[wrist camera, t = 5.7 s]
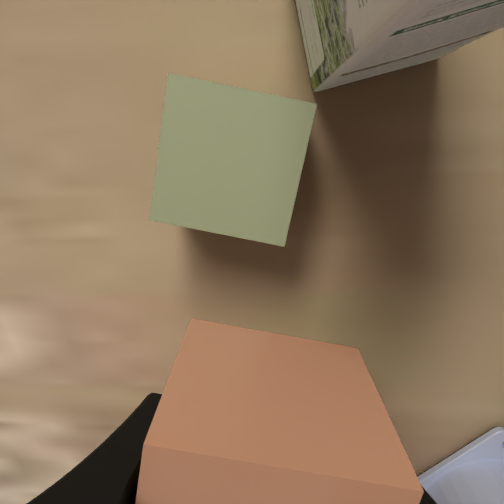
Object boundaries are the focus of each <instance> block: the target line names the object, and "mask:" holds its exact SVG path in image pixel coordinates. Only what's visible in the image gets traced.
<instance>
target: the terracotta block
mask: <svg viewBox="0 0 504 504" xmlns="http://www.w3.org/2000/svg"><path fill="white" fill-rule="evenodd" d="M423 493H424V491H423V488H422V486H421V484H420V482H419V480H418V478H417V475H416V473H415V471H414V469H413V467H412V465H411V463H410V460H409V458H408V456H407V454H406V452H405V450H404V447H403V445H402V443H401V441H400V439H399V437H398V434H397V432H396V430H395V428H394V426H393V424H392V421H391V419H390V417H389V415H388V413H387V411H386V409H385V406H384V404H383V402H382V400H381V398H380V396H379V393H378V391H377V389H376V387H375V385H374V383H373V380H372V378H371V376H370V374H369V372H368V370H367V367H366V365H365V363H364V361H363V359H362V357H361V354H360V352H359V350H358V348H353V347H348V346H342V345H337V344H331V343H326V342H320V341H314V340H309V339H303V338H298V337H292V336H287V335H281V334H275V333H270V332H264V331H259V330H253V329H247V328H242V327H236V326H231V325H225V324H220V323H214V322H208V321H203V320H197V319H192V318H191V320H190V323H189V325H188V328H187V330H186V333H185V336H184V338H183V341H182V344H181V346H180V349H179V352H178V354H177V357H176V359H175V362H174V365H173V367H172V370H171V373H170V375H169V378H168V381H167V383H166V386H165V389H164V391H163V394H162V396H161V399H160V402H159V404H158V407H157V410H156V412H155V415H154V418H153V420H152V423H151V426H150V428H149V431H148V433H147V436H146V439H145V441H144V444H143V451H142V458H141V465H140V473H139V480H138V487H137V495H136V502H135V504H419V503H420V500H421V498H422V495H423Z"/></svg>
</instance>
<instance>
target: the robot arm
mask: <svg viewBox="0 0 504 504" xmlns="http://www.w3.org/2000/svg"><path fill="white" fill-rule="evenodd" d="M161 396H162V394H157V393H151V394H149V395H148V396H147V397H146V398H145V399H144V400H143V402H142V403H141V404H140V405H139V406H138V407H137V409H136V410H135V411H134V412H133V413H132V414H131V415H130V416H129V417H128V418H127V419H126V420H125V421H124V422H123V423H122V425H121V426H119V427H118V428H117V429H116V430H115V431H114V432H113V433H112V434H111V435H110V436H109V437H108V438H107V439H106V440H105V441H104V442H103V443H102V444H101V445H100V446H99V447H98V448H96V449H95V450H94V451H93V452H92V453H91V454H90V455H88V456H87V457H86V458H85V459H84V460H83V461H82V462H80V463H79V464H78V465H77V466H76V467H75V468H73V469H72V470H71V471H70V472H69V473H67V474H66V475H65V476H64V477H62V478H61V479H60V480H58V481H57V482H56V483H55V484H53V485H52V486H51V487H49V488H48V489H47V490H45V491H44V492H43V493H41V494H40V495H38V496H37V497H36V498H34V499H33V500H31V501H30V502H28V503H27V504H135V502H136V495H137V487H138V480H139V473H140V465H141V458H142V451H143V444H144V441H145V439H146V436H147V433H148V431H149V428H150V426H151V423H152V420H153V418H154V415H155V412H156V410H157V407H158V404H159V402H160V399H161ZM503 442H504V428H503V427H495V428H493V429H491V430H490V431H488V432H487V433H485V434H484V435H482V436H480V437H479V438H477V439H476V440H474V441H473V442H471V443H470V444H468V445H466V446H465V447H463V448H462V449H460V450H459V451H457V452H455V453H454V454H452V455H451V456H449V457H448V458H446V459H445V460H443V461H441V462H440V463H438V464H437V465H435V466H434V467H432V468H431V469H429V470H427V471H426V472H424V473H423V474H421V475H420V476H418V477H417V478H418V480H419V482H420V484H421V486H422V488H423V491H424V493H423V495H422V498H421V500H420V503H419V504H504V443H503Z"/></svg>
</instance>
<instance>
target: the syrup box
mask: <svg viewBox="0 0 504 504" xmlns="http://www.w3.org/2000/svg"><path fill="white" fill-rule="evenodd" d="M295 4H296V9H297V14H298V18H299V23H300V28H301V33H302V39H303V44H304V49H305V54H306V59H307V64H308V69H309V75H310V80H311V85H312V90H313V91H315V92H318V91H322V90H325V89H329V88H333V87H337V86H340V85H344V84H348V83H351V82H355V81H359V80H362V79H366V78H370V77H373V76H377V75H381V74H384V73H388V72H392V71H396V70H399V69H403V68H407V67H410V66H414V65H418V64H421V63H425V62H428V61H432V60H435V59H438V58H441V57H443V56H445V55H447V54H449V53H451V52H453V51H455V50H457V49H459V48H460V47H462V46H464V45H466V44H468V43H470V42H472V41H474V40H476V39H479V38H481V37H483V36H485V35H487V34H489V33H491V32H493V31H496V30H498V29H500V28H502V27H504V0H295Z"/></svg>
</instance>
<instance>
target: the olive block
mask: <svg viewBox="0 0 504 504" xmlns="http://www.w3.org/2000/svg"><path fill="white" fill-rule="evenodd" d="M316 106H317V104H315V103H311V102H306V101H301V100H296V99H291V98H287V97H282V96H277V95H272V94H267V93H263V92H258V91H253V90H248V89H243V88H239V87H234V86H229V85H224V84H219V83H215V82H210V81H205V80H200V79H195V78H191V77H186V76H181V75H176V74H171V73H168V76H167V84H166V92H165V100H164V107H163V115H162V123H161V131H160V139H159V147H158V155H157V162H156V170H155V178H154V186H153V194H152V202H151V209H150V217H149V220H152V221H157V222H162V223H167V224H172V225H177V226H182V227H187V228H192V229H197V230H202V231H207V232H212V233H217V234H222V235H227V236H232V237H237V238H242V239H247V240H252V241H257V242H263V243H268V244H273V245H278V246H283V247H285V242H286V238H287V234H288V229H289V225H290V220H291V216H292V212H293V207H294V203H295V198H296V194H297V190H298V185H299V181H300V177H301V172H302V168H303V163H304V159H305V155H306V150H307V146H308V142H309V137H310V133H311V128H312V124H313V120H314V115H315V111H316Z"/></svg>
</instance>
